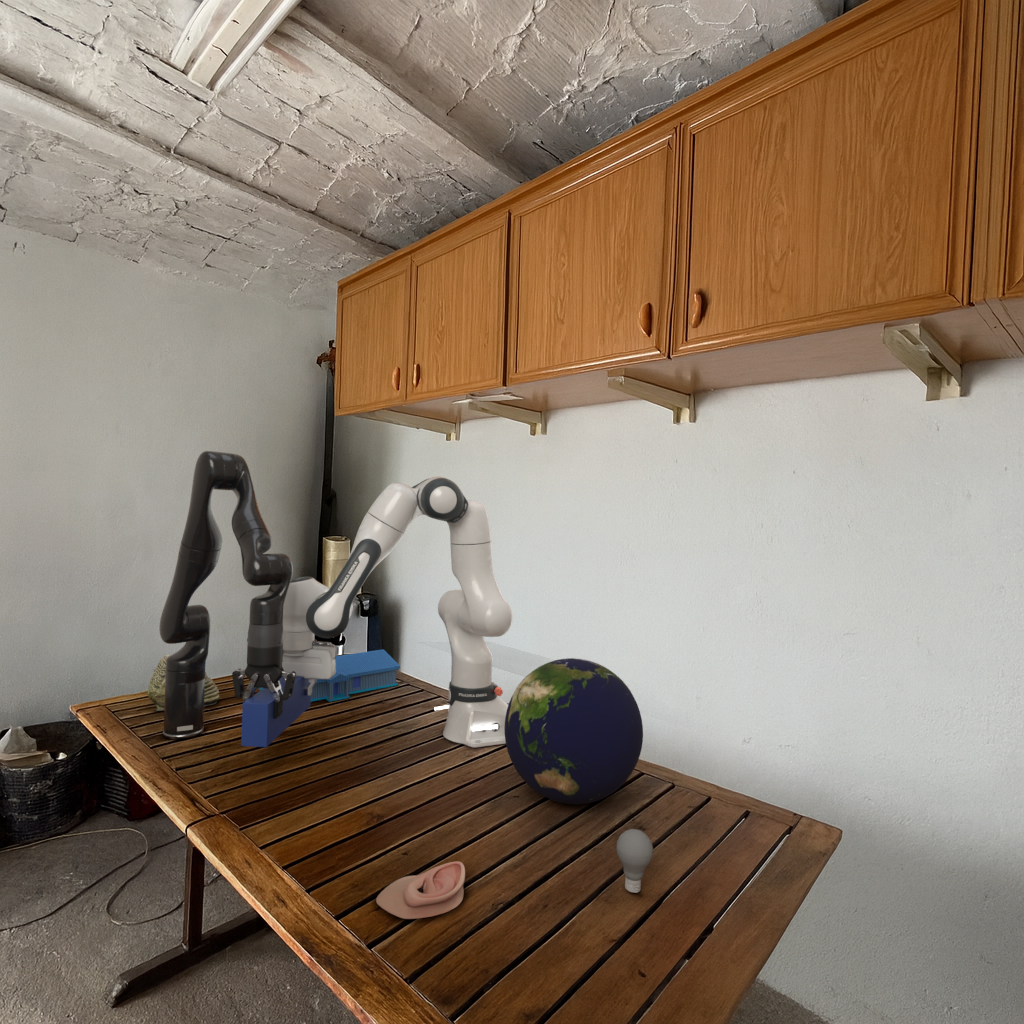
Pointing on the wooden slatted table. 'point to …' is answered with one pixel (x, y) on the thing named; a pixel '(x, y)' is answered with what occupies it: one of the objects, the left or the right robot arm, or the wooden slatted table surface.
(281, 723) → the bar
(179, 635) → the left robot arm
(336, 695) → the model building
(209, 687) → the fossil
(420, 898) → the anatomical model
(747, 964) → the wooden slatted table surface
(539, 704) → the globe
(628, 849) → the light bulb
